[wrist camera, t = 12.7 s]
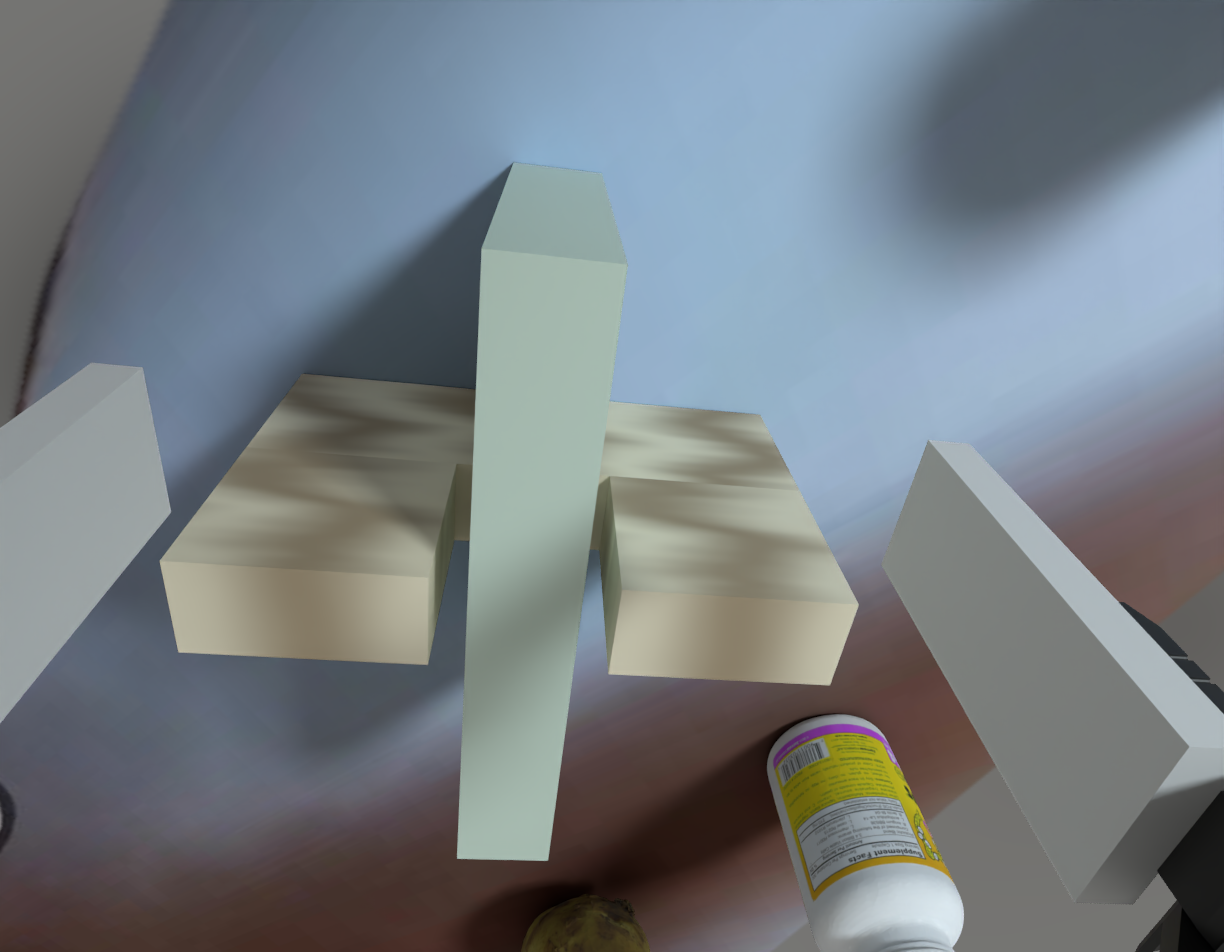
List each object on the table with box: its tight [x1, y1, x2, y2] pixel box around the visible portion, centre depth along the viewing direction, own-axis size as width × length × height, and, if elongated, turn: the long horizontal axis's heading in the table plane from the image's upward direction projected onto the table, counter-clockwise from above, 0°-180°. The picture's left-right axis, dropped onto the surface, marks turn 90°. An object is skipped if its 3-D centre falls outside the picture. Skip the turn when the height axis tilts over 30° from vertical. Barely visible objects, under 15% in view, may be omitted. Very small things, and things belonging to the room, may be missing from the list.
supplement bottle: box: [767, 714, 964, 952], centre depth 36 cm, size 7×7×13 cm
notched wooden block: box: [160, 374, 859, 685], centre depth 26 cm, size 18×3×12 cm, turn 83°
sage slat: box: [457, 163, 628, 861], centre depth 26 cm, size 20×3×12 cm, turn 173°
